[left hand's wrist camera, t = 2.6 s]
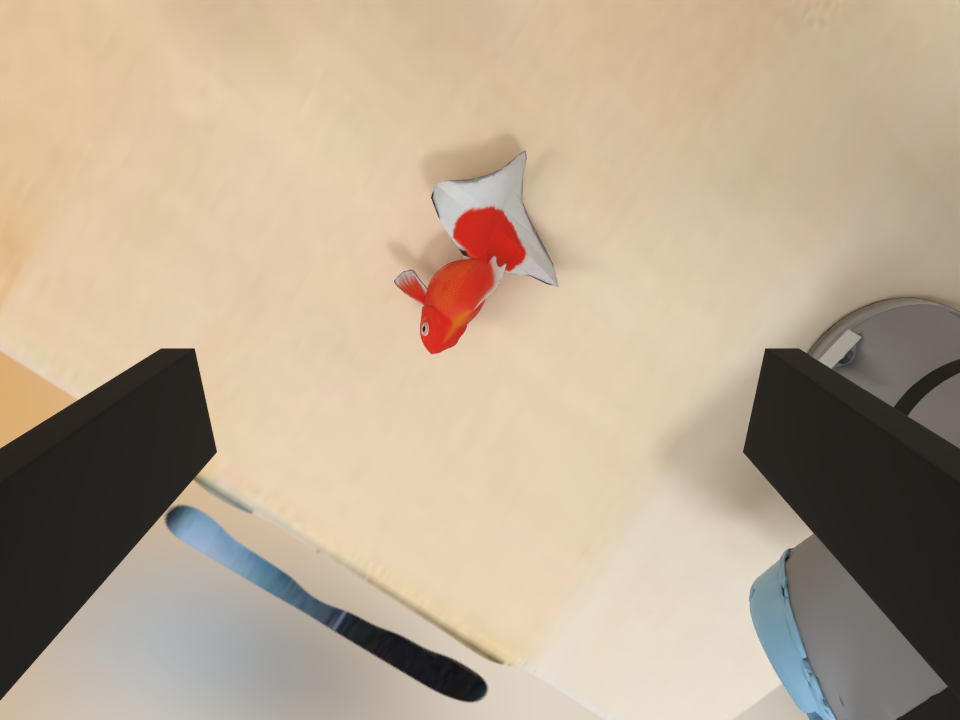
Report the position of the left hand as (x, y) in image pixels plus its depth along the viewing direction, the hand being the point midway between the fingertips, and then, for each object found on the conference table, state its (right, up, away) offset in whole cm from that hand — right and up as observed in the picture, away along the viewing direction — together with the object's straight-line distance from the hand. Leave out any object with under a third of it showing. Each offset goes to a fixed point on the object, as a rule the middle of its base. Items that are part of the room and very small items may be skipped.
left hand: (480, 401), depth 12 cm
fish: (0, +10, +30) cm, 32 cm away
